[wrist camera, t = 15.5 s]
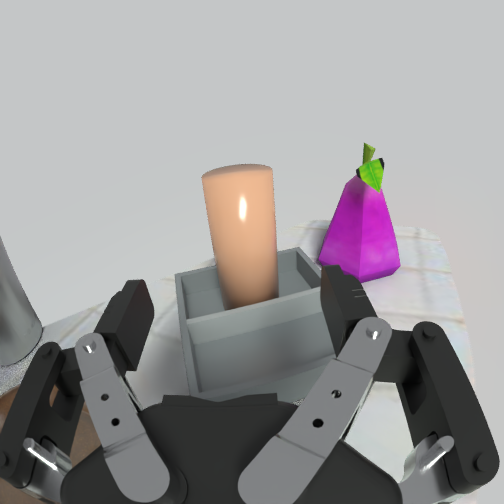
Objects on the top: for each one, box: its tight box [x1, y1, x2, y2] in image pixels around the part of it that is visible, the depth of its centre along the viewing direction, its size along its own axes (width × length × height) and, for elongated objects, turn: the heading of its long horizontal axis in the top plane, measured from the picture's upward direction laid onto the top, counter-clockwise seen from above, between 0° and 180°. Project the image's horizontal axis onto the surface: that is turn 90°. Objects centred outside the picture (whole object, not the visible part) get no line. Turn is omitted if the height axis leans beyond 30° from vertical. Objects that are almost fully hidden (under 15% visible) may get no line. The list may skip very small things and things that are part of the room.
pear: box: [318, 143, 400, 283], centre depth 32 cm, size 11×11×15 cm
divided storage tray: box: [175, 247, 336, 403], centre depth 26 cm, size 14×16×4 cm
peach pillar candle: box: [202, 164, 279, 311], centre depth 26 cm, size 6×6×13 cm
